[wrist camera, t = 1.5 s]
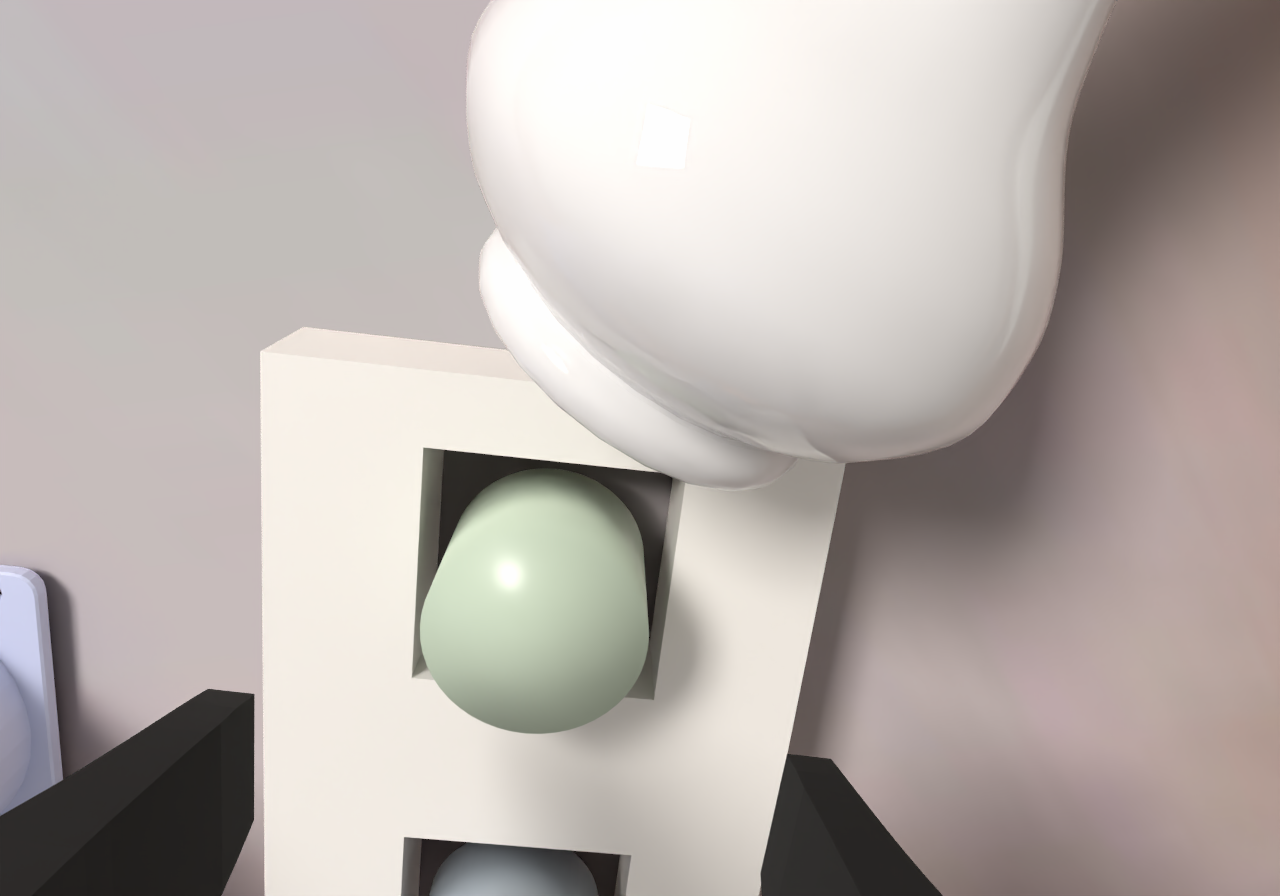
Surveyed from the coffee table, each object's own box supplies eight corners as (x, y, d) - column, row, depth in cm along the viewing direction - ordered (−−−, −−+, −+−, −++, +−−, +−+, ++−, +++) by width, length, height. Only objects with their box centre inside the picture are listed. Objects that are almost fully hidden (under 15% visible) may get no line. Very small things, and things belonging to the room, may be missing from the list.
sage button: (446, 634, 19) (415, 723, 16) (457, 457, 18) (425, 519, 15) (632, 651, 20) (634, 743, 17) (655, 479, 18) (662, 543, 15)
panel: (297, 1199, 27) (267, 1297, 24) (303, 326, 19) (260, 351, 16) (668, 1220, 27) (673, 1317, 25) (827, 385, 19) (855, 417, 17)
